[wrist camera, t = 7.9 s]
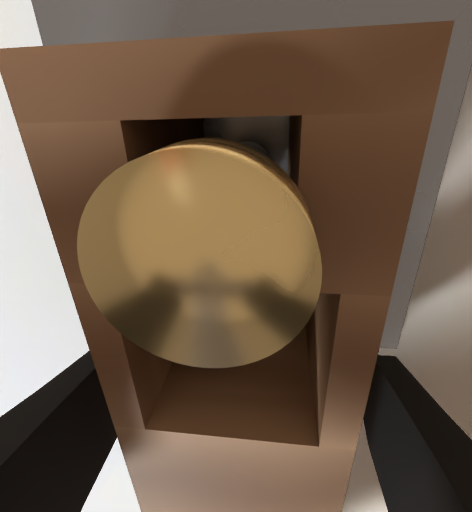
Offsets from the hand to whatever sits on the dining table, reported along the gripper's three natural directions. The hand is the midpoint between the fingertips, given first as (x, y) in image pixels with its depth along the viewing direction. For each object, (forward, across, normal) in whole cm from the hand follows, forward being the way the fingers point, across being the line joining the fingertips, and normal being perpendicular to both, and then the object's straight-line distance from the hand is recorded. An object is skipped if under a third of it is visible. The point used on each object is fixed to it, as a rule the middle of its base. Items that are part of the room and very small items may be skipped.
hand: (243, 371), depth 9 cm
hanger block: (+2, 0, -2) cm, 3 cm away
